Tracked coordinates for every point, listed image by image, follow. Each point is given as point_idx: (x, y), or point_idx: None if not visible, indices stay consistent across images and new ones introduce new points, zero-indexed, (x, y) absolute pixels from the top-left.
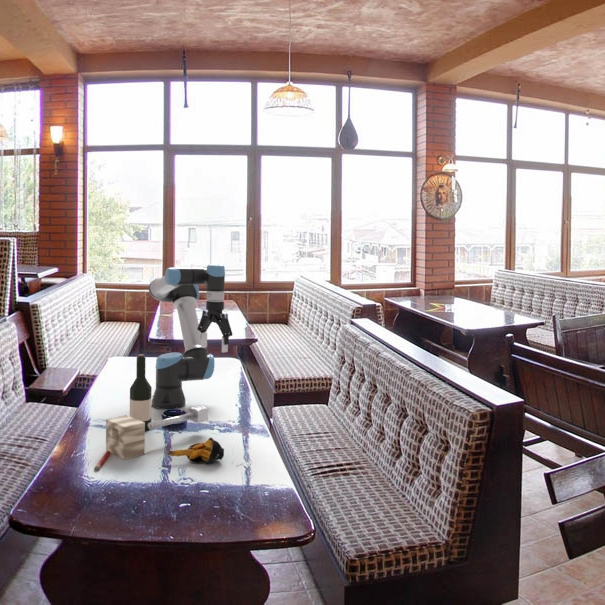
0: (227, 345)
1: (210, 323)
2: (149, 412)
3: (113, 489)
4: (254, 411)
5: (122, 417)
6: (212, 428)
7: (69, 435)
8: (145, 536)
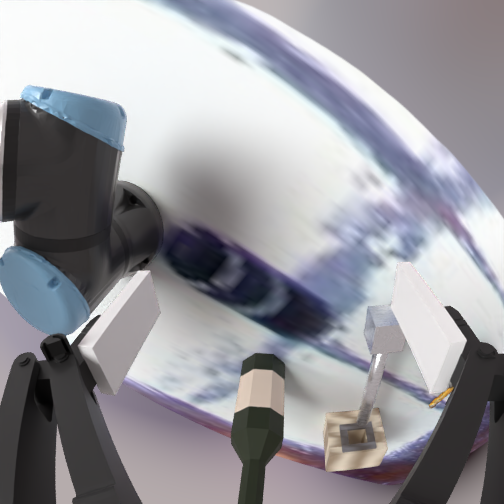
0: (429, 291)
1: (111, 465)
2: (281, 390)
3: (421, 446)
4: (332, 58)
5: (337, 460)
6: (376, 260)
7: (224, 434)
8: (488, 439)
